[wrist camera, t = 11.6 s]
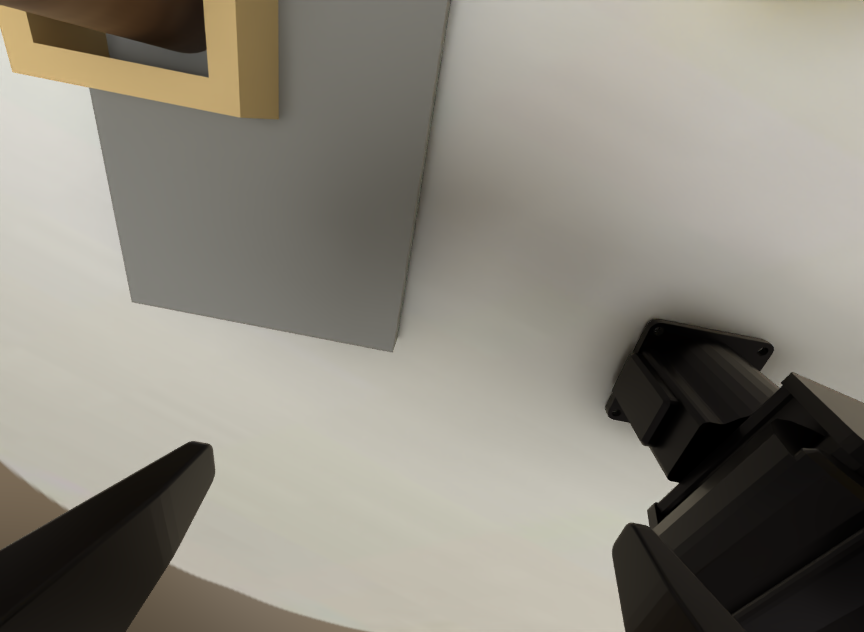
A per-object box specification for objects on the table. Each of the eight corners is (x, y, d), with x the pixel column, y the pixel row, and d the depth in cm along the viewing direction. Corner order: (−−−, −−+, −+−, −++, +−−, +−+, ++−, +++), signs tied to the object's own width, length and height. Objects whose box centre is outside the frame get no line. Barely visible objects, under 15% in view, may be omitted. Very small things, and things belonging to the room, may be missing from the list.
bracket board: (478, -174, 13) (485, -316, 9) (397, 338, 22) (381, 386, 18) (59, -263, 12) (-134, -449, 8) (152, 291, 21) (80, 328, 17)
